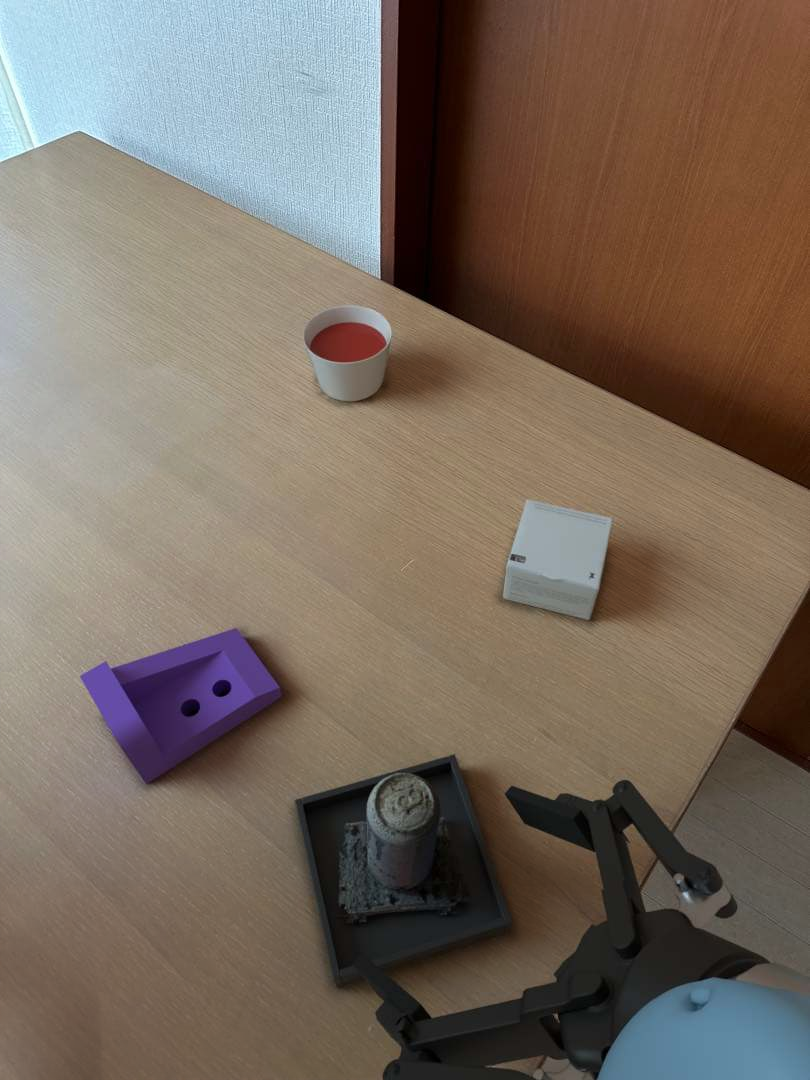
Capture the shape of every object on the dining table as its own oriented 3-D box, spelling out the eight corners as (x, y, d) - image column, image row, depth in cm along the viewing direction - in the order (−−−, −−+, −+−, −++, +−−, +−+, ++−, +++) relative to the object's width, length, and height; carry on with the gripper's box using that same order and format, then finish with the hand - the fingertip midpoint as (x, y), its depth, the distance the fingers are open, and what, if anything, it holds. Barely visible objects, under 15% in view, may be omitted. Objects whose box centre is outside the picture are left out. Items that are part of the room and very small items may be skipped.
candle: (394, 352, 92) (393, 305, 87) (391, 410, 86) (390, 363, 81) (312, 352, 92) (307, 305, 87) (305, 409, 86) (298, 362, 81)
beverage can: (441, 801, 61) (447, 733, 51) (474, 910, 56) (487, 857, 47) (320, 835, 59) (302, 771, 50) (344, 949, 55) (329, 903, 45)
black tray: (336, 987, 54) (333, 980, 52) (298, 811, 61) (294, 799, 59) (509, 931, 56) (512, 922, 54) (453, 767, 63) (454, 753, 61)
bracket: (146, 784, 62) (120, 747, 57) (107, 716, 66) (79, 676, 60) (282, 696, 67) (270, 654, 61) (239, 637, 70) (224, 592, 65)
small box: (605, 552, 75) (615, 516, 71) (589, 623, 71) (600, 589, 66) (520, 531, 77) (526, 496, 72) (500, 600, 72) (505, 566, 68)
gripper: (602, 1441, 28) (333, 1101, 47) (914, 882, 39) (596, 784, 57) (494, 1317, 26) (257, 1013, 44) (854, 764, 37) (544, 702, 55)
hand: (447, 884), depth 51 cm, fingers open, 13 cm apart
